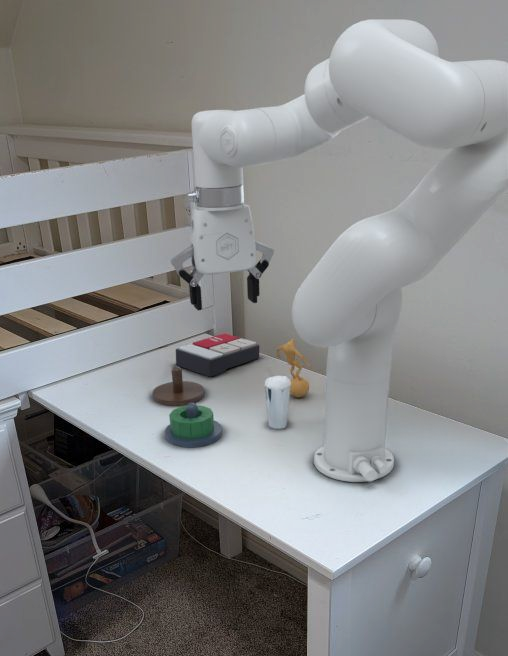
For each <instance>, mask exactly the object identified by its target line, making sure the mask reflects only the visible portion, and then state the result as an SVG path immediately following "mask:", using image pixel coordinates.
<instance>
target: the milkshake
mask: <svg viewBox="0 0 508 656" xmlns="http://www.w3.org/2000/svg"><path fill="white" fill-rule="evenodd" d="M267 369H268V374H269V377H268V378H266V380H265V381H264V392H265V401H266V408H267V409H266V411H267V420H268V427H269V428H271V429H275V430H283V429H284V428H286V427H287V426H288V418H289V406H290V405H289V404H290V396H291V393H290V387H291V379H290V378H288V376H287V375H275V376H273V374H272V369H271V367H270V366H268V367H267Z"/></svg>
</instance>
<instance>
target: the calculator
mask: <svg viewBox="0 0 508 656" xmlns="http://www.w3.org/2000/svg"><path fill="white" fill-rule="evenodd" d="M258 359H260V344H258V343H257V342H256V341H253V340H250V339H245V338H242V337H241V338H240V337H238V336H235V335H232V334H229V333H221V334H218V335H213V336H210V337H207V338H203V339H201V340H196V341H193V342H192V343H189V344H186V345H182V346H179V347H178V348H175V364H176V366H178V367H180V368H183V369H186V370H188V371H192V372H194V373H197V374H201V375H204V376H206V377H210V378H212V377H215V376H218V375H220V374H223V373H224V372H225V371H226V370H228V369H231V368H234V367H236V366H240V365H242V364H246V363H248V362H252V361H255V360H258Z"/></svg>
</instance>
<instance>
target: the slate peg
mask: <svg viewBox="0 0 508 656" xmlns="http://www.w3.org/2000/svg"><path fill="white" fill-rule="evenodd" d="M197 405H198V404H197V403H196V402H195V403H189V404H188V405H186V406H187V407H186V413H187V418H189V419H192V418H197V417H198V407H197ZM222 436H223V427H222V425H221V423H220V422H219V421H216V420H214V429H213V431H212V433H211V434H209V435H206V436H204V437H201V438H195V439H185V438H179V437H177V436H175V435H173V434H172V432H171V429H170V424H168V425H166V427H165V430H164V438H165V440H166V441H167V442H168V443H169V444H171V445H174V446H176V447H180V448H200V447H206V446H209V445H212V444H214V443H216V442H217V441H220V439H221V438H222Z"/></svg>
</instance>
